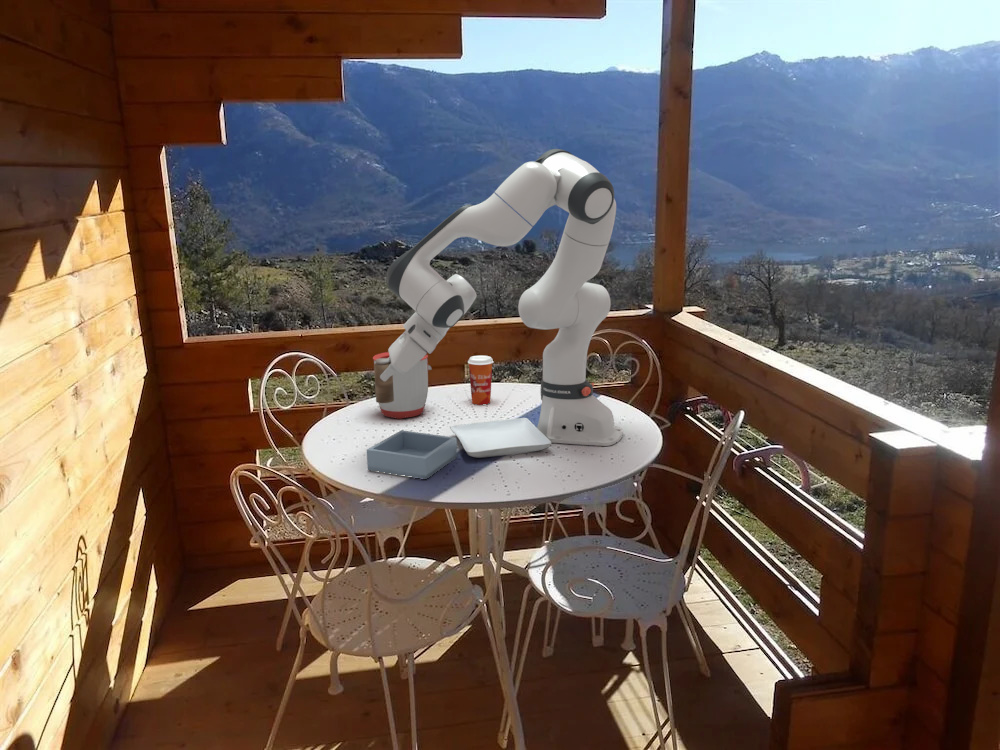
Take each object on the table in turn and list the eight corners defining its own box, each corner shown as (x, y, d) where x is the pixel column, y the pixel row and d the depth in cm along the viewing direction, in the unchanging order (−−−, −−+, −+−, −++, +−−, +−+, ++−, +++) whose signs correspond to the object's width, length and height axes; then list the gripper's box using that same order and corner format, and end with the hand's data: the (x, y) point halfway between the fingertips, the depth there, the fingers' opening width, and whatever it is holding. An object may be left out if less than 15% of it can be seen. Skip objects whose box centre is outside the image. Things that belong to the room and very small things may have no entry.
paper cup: (467, 406, 204) (466, 360, 201) (469, 399, 211) (468, 355, 208) (493, 406, 204) (493, 360, 200) (494, 399, 211) (494, 355, 208)
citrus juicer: (445, 413, 197) (443, 345, 192) (393, 425, 186) (390, 353, 182) (416, 401, 209) (413, 337, 204) (365, 412, 198) (361, 345, 193)
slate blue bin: (456, 457, 161) (456, 437, 160) (426, 480, 148) (425, 458, 147) (402, 449, 167) (401, 430, 166) (367, 470, 154) (366, 449, 152)
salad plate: (467, 465, 158) (467, 451, 157) (449, 436, 178) (448, 424, 177) (553, 455, 163) (553, 442, 162) (526, 429, 183) (526, 417, 182)
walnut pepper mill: (397, 399, 162) (395, 358, 160) (387, 403, 159) (385, 362, 156) (382, 397, 164) (380, 357, 162) (372, 402, 160) (370, 360, 158)
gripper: (408, 318, 169) (370, 358, 169) (414, 331, 149) (372, 377, 149) (426, 335, 170) (389, 375, 171) (435, 350, 151) (393, 395, 151)
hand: (381, 376), depth 160 cm, fingers closed on walnut pepper mill, 4 cm apart
